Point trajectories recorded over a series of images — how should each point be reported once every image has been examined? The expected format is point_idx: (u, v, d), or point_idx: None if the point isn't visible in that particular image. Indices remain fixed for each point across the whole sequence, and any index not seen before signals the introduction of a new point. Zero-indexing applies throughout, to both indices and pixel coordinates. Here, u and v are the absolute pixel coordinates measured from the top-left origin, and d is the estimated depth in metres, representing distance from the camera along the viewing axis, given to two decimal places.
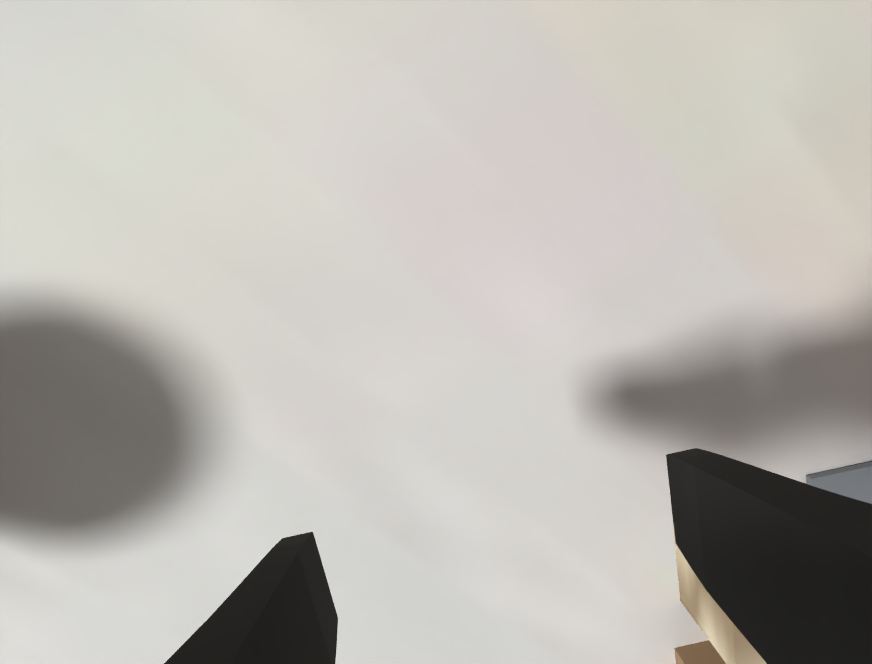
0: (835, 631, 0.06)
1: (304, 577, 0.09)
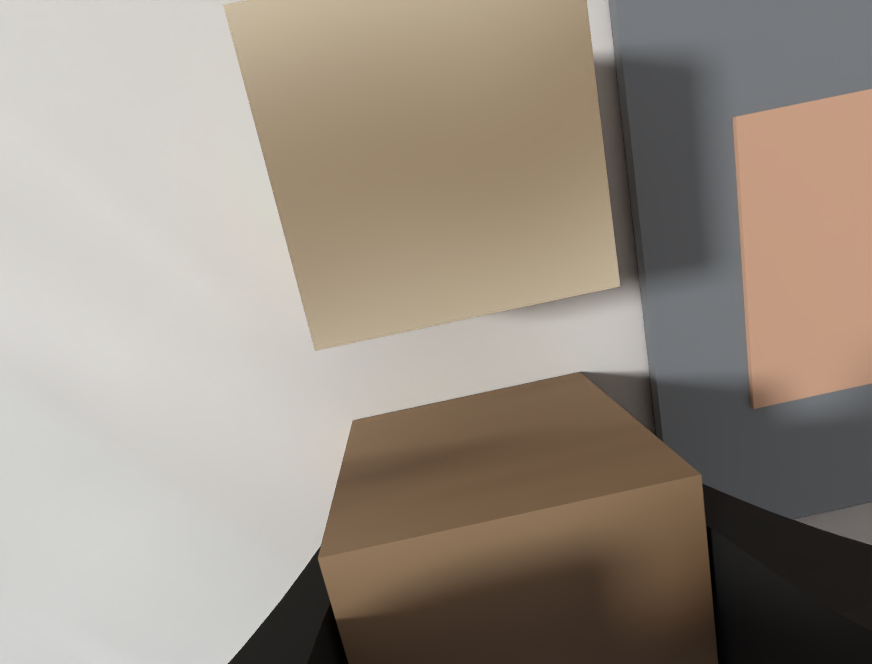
0: (756, 649, 0.06)
1: None
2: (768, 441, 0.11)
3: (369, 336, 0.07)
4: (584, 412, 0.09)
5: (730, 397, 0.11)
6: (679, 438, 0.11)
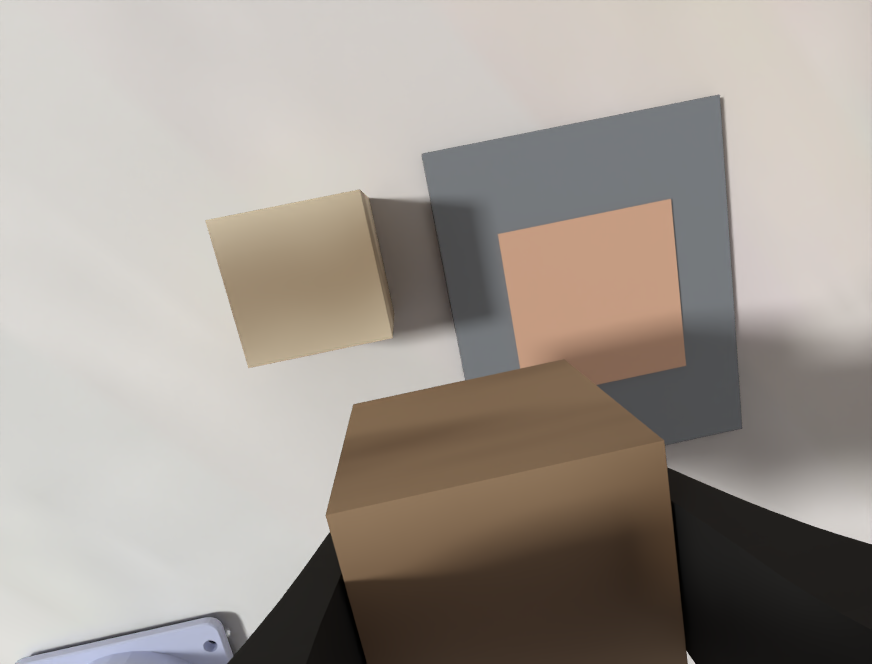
0: (758, 648, 0.06)
1: None
2: None
3: (275, 361, 0.14)
4: (566, 392, 0.10)
5: None
6: None
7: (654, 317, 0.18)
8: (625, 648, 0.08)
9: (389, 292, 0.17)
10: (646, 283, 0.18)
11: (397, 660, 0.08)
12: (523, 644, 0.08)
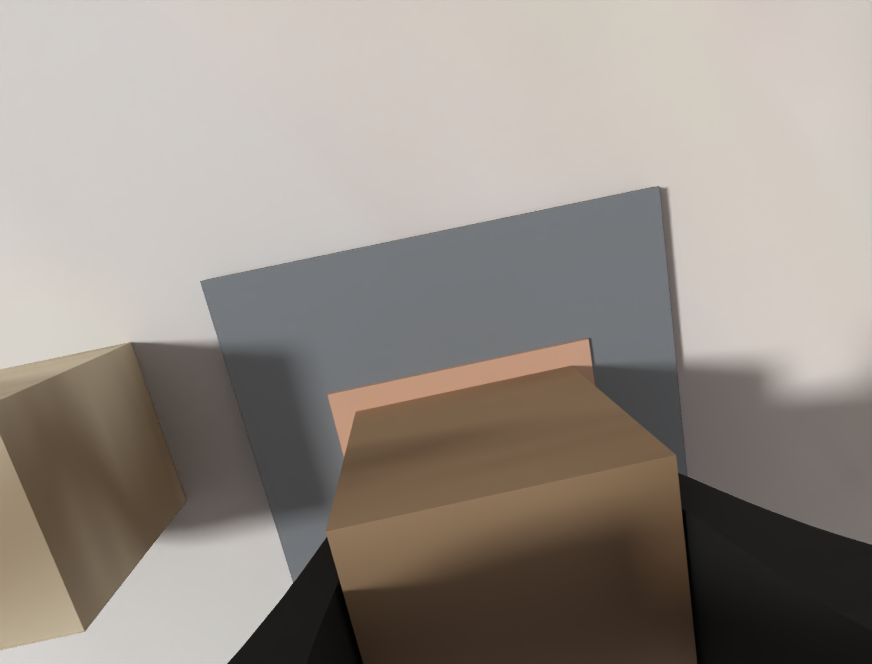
0: (757, 649, 0.06)
1: None
2: None
3: None
4: (573, 401, 0.09)
5: None
6: None
7: None
8: None
9: (176, 472, 0.12)
10: None
11: None
12: (529, 663, 0.08)
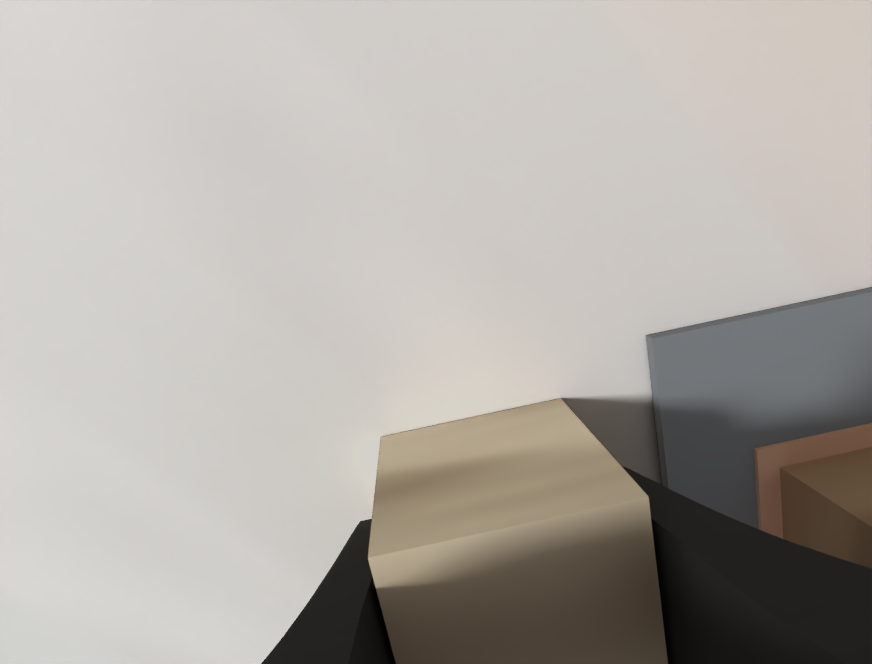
0: (717, 658, 0.06)
1: None
2: None
3: None
4: None
5: None
6: None
7: None
8: None
9: None
10: None
11: None
12: None
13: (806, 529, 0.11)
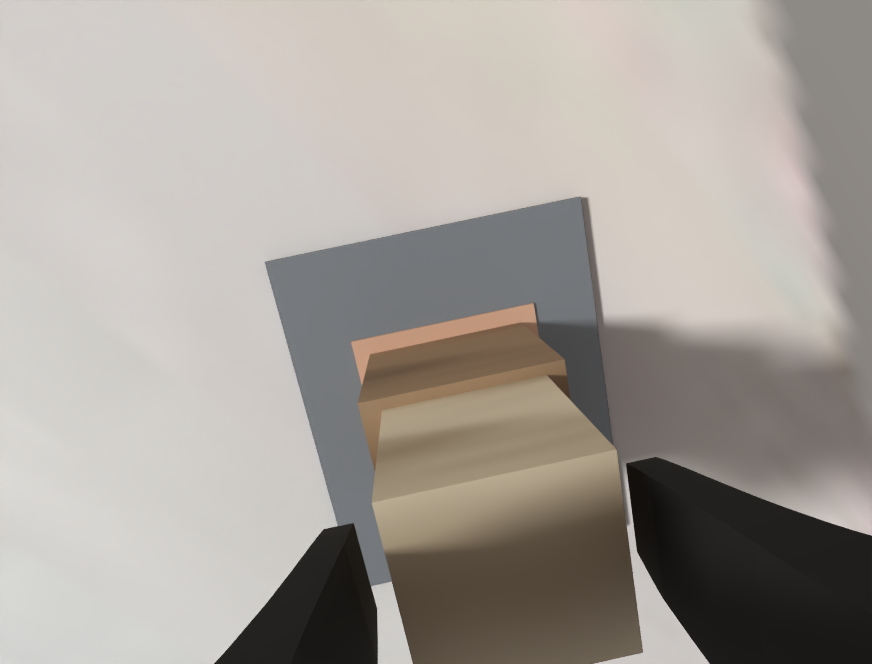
0: (774, 645, 0.06)
1: (350, 567, 0.09)
2: None
3: None
4: (515, 340, 0.14)
5: None
6: (348, 523, 0.17)
7: None
8: None
9: None
10: None
11: None
12: None
13: None
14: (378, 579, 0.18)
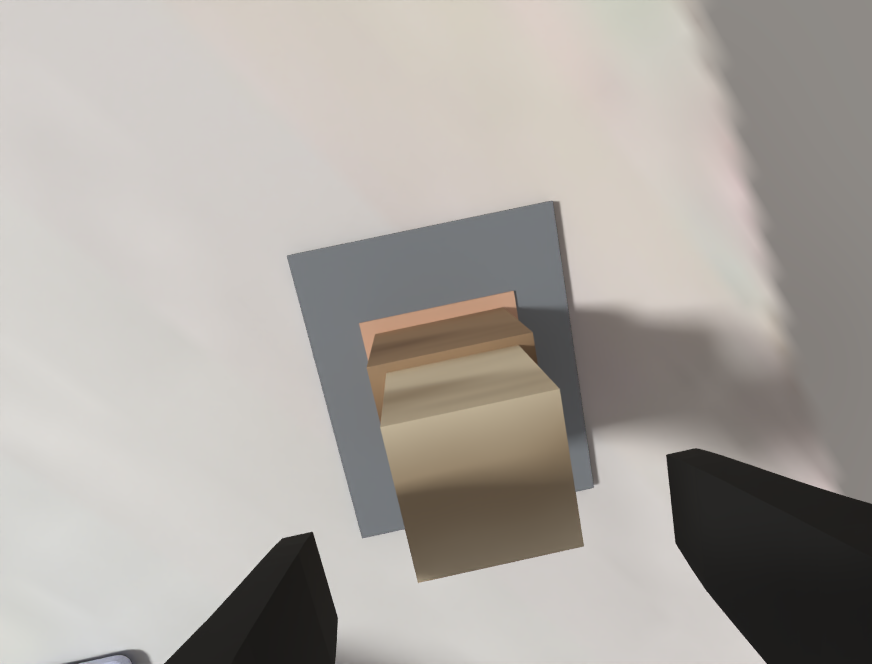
0: (835, 631, 0.06)
1: (304, 577, 0.09)
2: None
3: (446, 571, 0.12)
4: (496, 320, 0.17)
5: (381, 459, 0.20)
6: (356, 480, 0.20)
7: None
8: None
9: None
10: None
11: None
12: None
13: None
14: (382, 530, 0.21)
